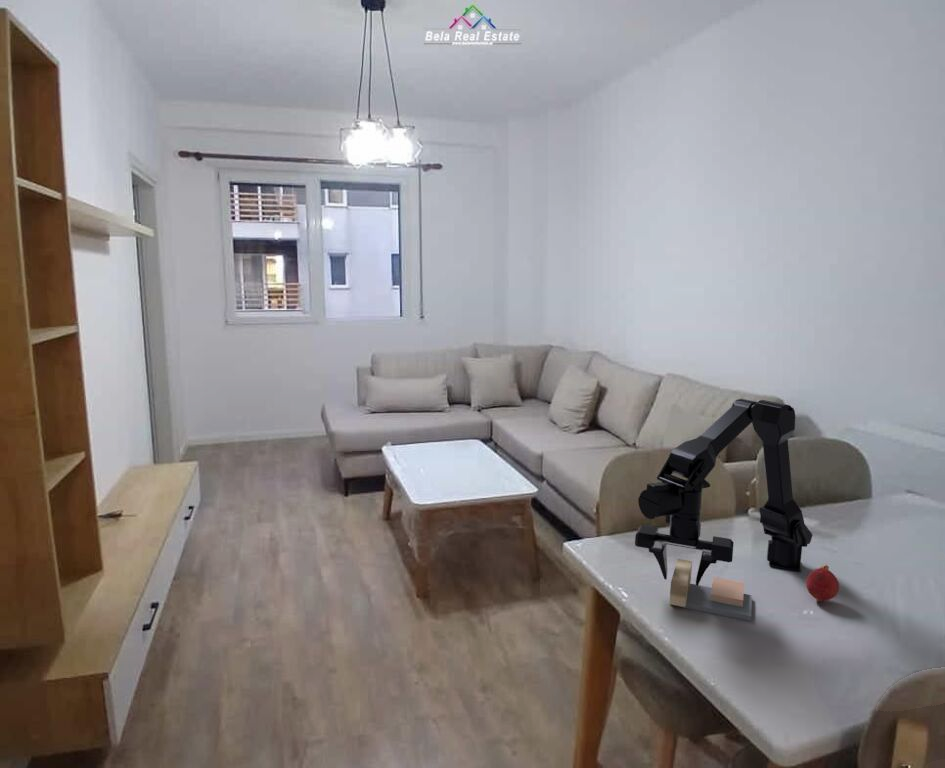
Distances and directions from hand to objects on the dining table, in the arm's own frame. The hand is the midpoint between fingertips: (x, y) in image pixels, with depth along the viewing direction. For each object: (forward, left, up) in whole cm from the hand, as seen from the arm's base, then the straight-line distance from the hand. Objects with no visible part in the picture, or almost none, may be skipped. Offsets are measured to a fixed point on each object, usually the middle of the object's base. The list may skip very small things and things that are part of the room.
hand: (681, 581), depth 130 cm
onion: (-26, -9, -3) cm, 28 cm away
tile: (-9, -6, -1) cm, 11 cm away
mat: (-6, 0, -3) cm, 7 cm away
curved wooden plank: (0, 0, -2) cm, 2 cm away
